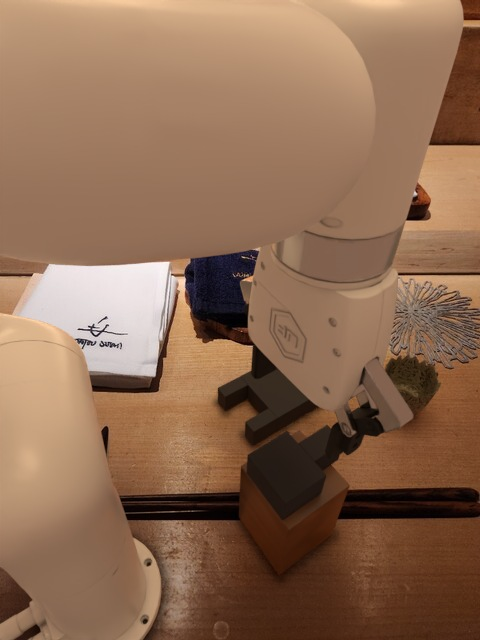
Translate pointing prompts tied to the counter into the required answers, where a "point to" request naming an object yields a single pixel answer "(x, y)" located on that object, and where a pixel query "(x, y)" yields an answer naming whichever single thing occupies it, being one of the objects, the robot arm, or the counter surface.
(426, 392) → the cup
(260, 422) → the base pad
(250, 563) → the counter surface
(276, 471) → the small pad
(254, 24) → the robot arm
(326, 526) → the block
